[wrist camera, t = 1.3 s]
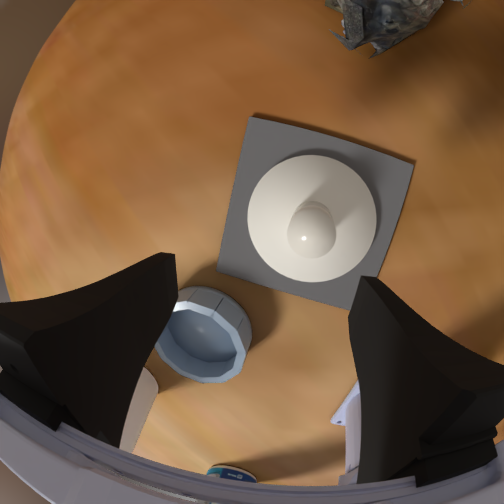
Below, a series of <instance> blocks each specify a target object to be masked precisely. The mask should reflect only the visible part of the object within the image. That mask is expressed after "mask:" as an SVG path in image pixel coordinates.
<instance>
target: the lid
mask: <svg viewBox="0 0 504 504" xmlns="http://www.w3.org/2000/svg"><path fill="white" fill-rule="evenodd" d="M247 221H248V229H249V233H250V237H251V240H252V242H253V245H254V247H255V248H256V250H257V252H258V253H259V255H260V256H261V258H262V259H263V260H264V261H265V262H266V263H267V264H268V265H269V266H270V267H271V268H273V269H274V270H275V271H277V272H278V273H280V274H282V275H284V276H286V277H288V278H291V279H294V280H298V281H303V282H323V281H328V280H332V279H335V278H337V277H340V276H342V275H344V274H345V273H347V272H349V271H350V270H351V269H353V268H354V267H355V266H356V265H357V264H358V263H359V262H360V261H361V260H362V259H363V258H364V256H365V255H366V253H367V252H368V250H369V248H370V246H371V244H372V241H373V239H374V235H375V231H376V209H375V204H374V201H373V198H372V195H371V193H370V191H369V189H368V187H367V186H366V184H365V182H364V181H363V180H362V179H361V177H360V176H359V175H358V174H357V173H356V172H355V171H354V170H352V169H351V168H349V167H348V166H347V165H345V164H343V163H341V162H339V161H337V160H335V159H332V158H329V157H325V156H319V155H303V156H298V157H293V158H290V159H287V160H285V161H283V162H281V163H279V164H277V165H276V166H274V167H273V168H272V169H270V170H269V171H268V172H267V173H266V174H265V175H264V176H263V177H262V178H261V180H260V181H259V182H258V184H257V186H256V187H255V189H254V191H253V193H252V196H251V199H250V202H249V207H248V219H247Z"/></svg>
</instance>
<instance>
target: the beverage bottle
mask: <svg viewBox="0 0 504 504" xmlns="http://www.w3.org/2000/svg"><path fill="white" fill-rule="evenodd" d="M207 475H208V476H213V477H218V478H224V479H230V480H236V481H243V482H251V483H257V480H256V478H255V477H254V476H253V475H252V474H251V473H249V472H247V471H245V470H242V469H239V468H236V467H232V466H225V465H217V466H213V467H211V468H209V470H208V472H207ZM196 503H201V504H218V503H213V502H208V501H203V500H199V499H196Z"/></svg>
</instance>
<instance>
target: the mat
mask: <svg viewBox="0 0 504 504" xmlns="http://www.w3.org/2000/svg"><path fill="white" fill-rule="evenodd" d="M303 155H319V156H325V157H329V158H332V159H335V160H337V161H339V162H341V163H343V164H345V165H347V166H348V167H349V168H351V169H352V170H354V171H355V172H356V173H357V174H358V175H359V176H360V177H361V179H362V180H363V181H364V182H365V184H366V186H367V187H368V189H369V191H370V193H371V195H372V198H373V201H374V204H375V209H376V231H375V235H374V239H373V241H372V244H371V246H370V248H369V250H368V252H367V253H366V255H365V256H364V258H363V259H362V260H361V261H360V262H359V263H358V264H357V265H356V266H355V267H354V268H353V269H351V270H350V271H349V272H347V273H345V274H344V275H342V276H340V277H337V278H335V279H332V280H328V281H323V282H303V281H298V280H294V279H291V278H288V277H286V276H284V275H282V274H280V273H278V272H277V271H275V270H274V269H273V268H271V267H270V266H269V265H268V264H267V263H266V262H265V261H264V260H263V259H262V258H261V256H260V255H259V253H258V252H257V250H256V248H255V247H254V245H253V242H252V240H251V237H250V233H249V229H248V221H247V219H248V207H249V202H250V199H251V196H252V193H253V191H254V189H255V187H256V186H257V184H258V182H259V181H260V180H261V178H262V177H263V176H264V175H265V174H266V173H267V172H268V171H269V170H270V169H272V168H273V167H274V166H276V165H277V164H279V163H281V162H283V161H285V160H287V159H290V158H293V157H298V156H303ZM413 167H414V165H412V164H409V163H407V162H404V161H402V160H399V159H397V158H394V157H392V156H389V155H386V154H384V153H381V152H378V151H375V150H373V149H370V148H367V147H364V146H361V145H358V144H355V143H352V142H349V141H346V140H342V139H339V138H336V137H332V136H329V135H326V134H322V133H318V132H315V131H311V130H307V129H303V128H300V127H295V126H291V125H287V124H283V123H278V122H274V121H269V120H265V119H260V118H254V117H249V120H248V124H247V128H246V132H245V137H244V141H243V145H242V150H241V154H240V158H239V163H238V167H237V172H236V176H235V181H234V185H233V190H232V195H231V199H230V204H229V209H228V214H227V218H226V223H225V228H224V233H223V238H222V243H221V248H220V253H219V258H218V263H217V269H216V271H217V272H220V273H223V274H227V275H230V276H233V277H236V278H240V279H243V280H246V281H249V282H253V283H256V284H259V285H263V286H266V287H269V288H273V289H276V290H279V291H283V292H286V293H289V294H293V295H296V296H300V297H303V298H307V299H310V300H314V301H317V302H321V303H324V304H328V305H331V306H335V307H339V308H342V309H346V310H351V307H352V304H353V300H354V297H355V294H356V291H357V287H358V284H359V280H360V277H361V275H362V276H372V277H377V275H378V272H379V270H380V267H381V265H382V262H383V260H384V257H385V255H386V252H387V249H388V247H389V244H390V241H391V238H392V236H393V233H394V230H395V227H396V224H397V221H398V218H399V215H400V212H401V209H402V206H403V202H404V199H405V196H406V192H407V189H408V185H409V182H410V178H411V175H412V171H413Z"/></svg>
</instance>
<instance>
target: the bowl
mask: <svg viewBox="0 0 504 504" xmlns="http://www.w3.org/2000/svg"><path fill="white" fill-rule="evenodd" d="M178 295H179V297H178V300H177V303H176V305H175V308H174V310H173V313H172V315H171V317H170V319H169V321H168V323H167V325H166V327H165V328H164V330H163V332H162V334H161V335H160V337H159V339H158V341H157V343H156V344H155V346H154V347H155V348H156V350H157V352H158V354H159V356H160V358H161V359H162V360H163V361H164V362H165V363H167V364H168V365H169V366H170V367H171V368H172V369H174V370H175V371H176V372H177V373H178V374H179V373H180V375H182V376H185V377H187V378H190V379H193V380H195V381H198V382H202V383H223V382H226V381H227V380H229V379H231V378H232V377H234V376H235V375H237V374H239V373H240V372H241V370H242V367H243V364H244V362H245V359H246V356H247V353H248V350H249V346H250V344H251V340H252V327H251V323H250V320H249V318H248V316H247V314H246V312H245V311H244V310H243V308H242V307H241V306H240V305H239V304H238V303H237V302H236V301H235V300H234V299H233V298H231V297H230V296H228V295H227V294H225V293H223V292H222V291H219V290H217V289H214V288H211V287H206V286H190V287H186V288H183V289H181V290H179V291H178Z"/></svg>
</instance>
